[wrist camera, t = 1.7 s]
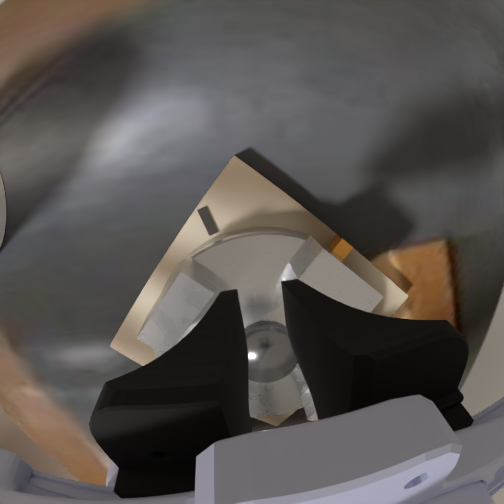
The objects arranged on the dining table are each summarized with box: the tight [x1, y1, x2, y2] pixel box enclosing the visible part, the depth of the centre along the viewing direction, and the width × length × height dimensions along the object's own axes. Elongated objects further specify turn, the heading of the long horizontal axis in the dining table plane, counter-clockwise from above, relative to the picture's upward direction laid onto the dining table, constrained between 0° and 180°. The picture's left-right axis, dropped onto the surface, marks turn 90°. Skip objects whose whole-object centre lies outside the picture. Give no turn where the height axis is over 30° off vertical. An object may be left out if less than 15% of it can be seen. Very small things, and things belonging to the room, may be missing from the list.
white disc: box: [137, 227, 383, 421], centre depth 19 cm, size 16×15×4 cm
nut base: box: [110, 156, 408, 426], centre depth 22 cm, size 17×17×1 cm
